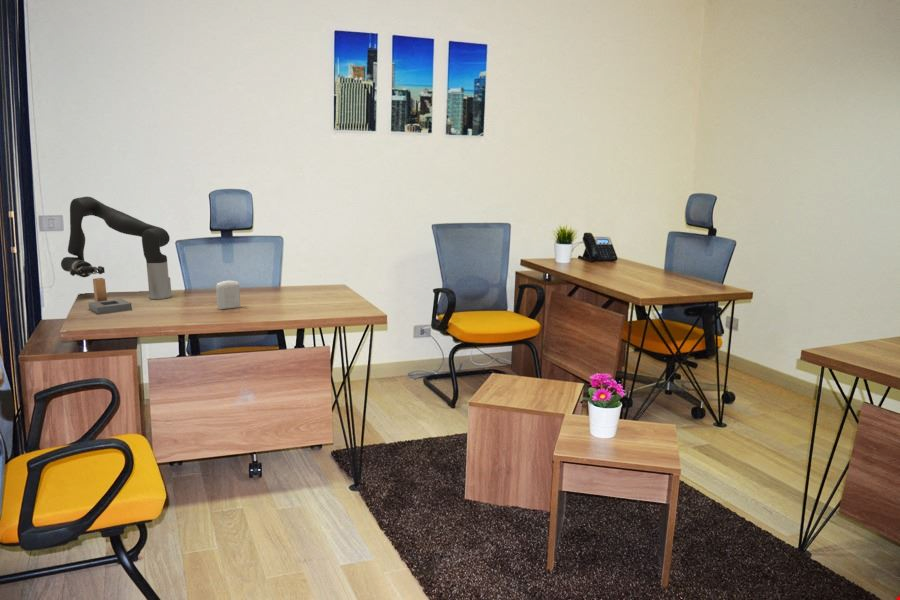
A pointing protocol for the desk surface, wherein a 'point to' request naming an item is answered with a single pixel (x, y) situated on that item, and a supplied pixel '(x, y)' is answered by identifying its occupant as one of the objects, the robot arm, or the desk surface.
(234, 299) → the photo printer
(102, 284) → the bracket post
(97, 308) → the well stand
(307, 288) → the desk surface
